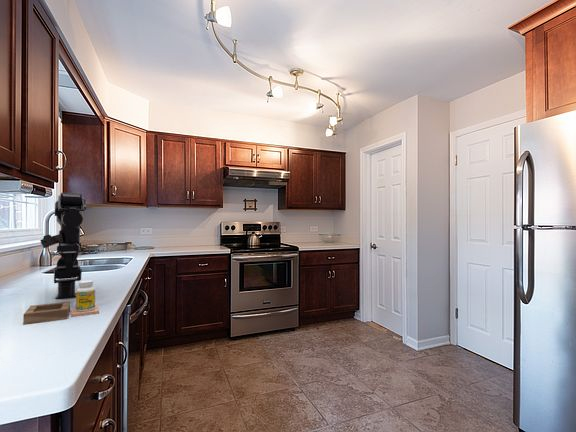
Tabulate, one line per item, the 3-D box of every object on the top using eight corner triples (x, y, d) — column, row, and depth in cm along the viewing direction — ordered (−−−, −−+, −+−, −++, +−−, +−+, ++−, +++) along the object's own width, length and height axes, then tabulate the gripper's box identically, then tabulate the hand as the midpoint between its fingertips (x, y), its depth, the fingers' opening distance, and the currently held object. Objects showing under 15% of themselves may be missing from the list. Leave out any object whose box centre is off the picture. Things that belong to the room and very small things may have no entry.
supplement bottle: (94, 306, 107) (95, 279, 108) (95, 310, 103) (95, 281, 103) (76, 308, 104) (76, 280, 105) (75, 313, 100) (76, 283, 100)
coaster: (72, 311, 105) (72, 308, 105) (98, 307, 109) (98, 305, 109) (71, 316, 98) (71, 314, 98) (98, 313, 102) (98, 310, 102)
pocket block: (30, 314, 100) (30, 305, 100) (70, 310, 106) (70, 301, 106) (23, 324, 91) (23, 314, 91) (67, 318, 96) (67, 309, 97)
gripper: (46, 226, 116) (45, 268, 116) (38, 227, 100) (37, 275, 100) (81, 226, 122) (81, 265, 122) (79, 227, 106) (78, 272, 106)
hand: (69, 269), depth 112 cm, fingers open, 9 cm apart
